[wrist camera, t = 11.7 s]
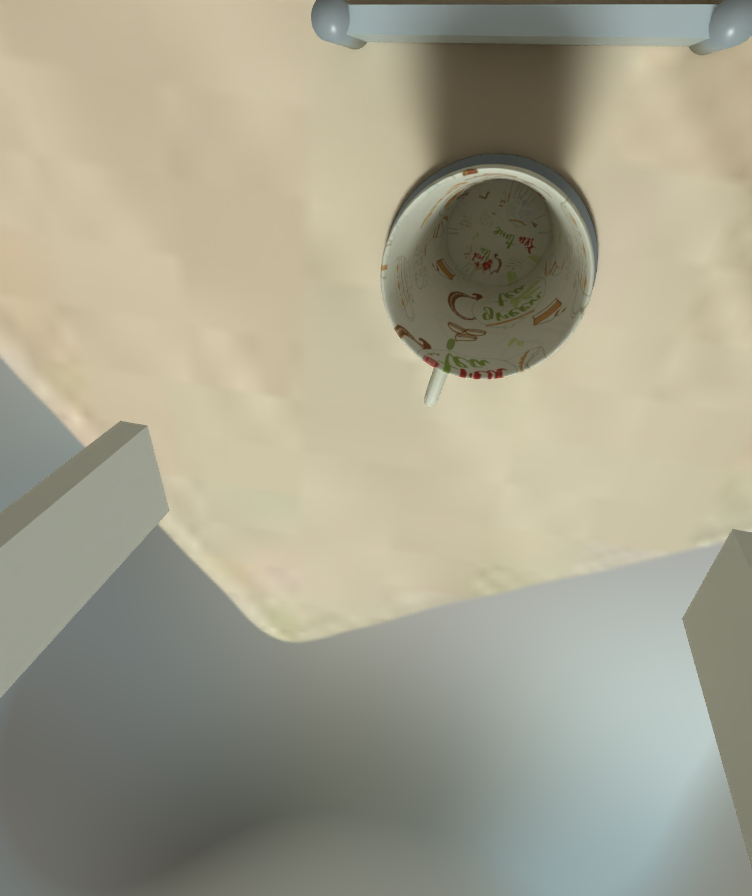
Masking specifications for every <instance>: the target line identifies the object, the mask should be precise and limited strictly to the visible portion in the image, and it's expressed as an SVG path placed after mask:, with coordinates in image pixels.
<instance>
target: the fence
mask: <svg viewBox="0 0 752 896" xmlns="http://www.w3.org/2000/svg"><path fill="white" fill-rule="evenodd" d="M311 21H312V26H313V29H314V31H315V33H316V34H317V35H318V36H319V37H320V38H321V39H322V40H324V41H328V42H331V43H334V44H338V45H341V46H344V47H348V48H351V49H359V48H362V47H363V46H364V45H365V44H366V43H367V42H410V43H484V44H557V45H630V46H689V48H690V49H691V51H692V52H694V53H695V54H698V55H706V54H710V53H713V52H717V51H720V50H723V49H727V48H730V47H733V46H736V45H739V44H741V43H743V42H744V41H746V40H747V39H748V38H749V37H750V36H751V35H752V0H724V1H722V2H720V3H718V4H517V5H352V4H350V3H348V2H347V1H345V0H316V2H315V3H314V5H313V8H312V13H311Z"/></svg>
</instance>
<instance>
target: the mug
mask: <svg viewBox="0 0 752 896" xmlns="http://www.w3.org/2000/svg"><path fill="white" fill-rule="evenodd" d="M594 273H595V260H594V251H593V246H592V241H591V237H590V234H589V231H588V228H587V226H586V224H585V221H584V219H583V218H582V216H581V214H580V212H579V210H578V209H577V207H576V206H575V205H574V203H573V202H572V201H571V200H570V198H569V197H568V196H567V195H566V194H565V193H564V192H563V191H562V190H561V189H560V188H558V187H557V186H556V185H555V184H553V183H552V182H551V181H549V180H547V179H546V178H544V177H543V176H541V175H539V174H537V173H534V172H532V171H530V170H527V169H524V168H520V167H517V166H511V165H504V164H483V165H475V166H471V167H466V168H463V169H460V170H457V171H454V172H451V173H449V174H447V175H445V176H443V177H441V178H439V179H437V180H436V181H434V182H433V183H431V184H430V185H428V186H427V187H426V188H424V189H423V190H422V191H421V192H420V193H418V194H417V195H416V196H415V197H414V198H413V199H412V200H411V201H410V203H409V204H408V205H407V206H406V207H405V208H404V210H403V211H402V213H401V214H400V215H399V217H398V219H397V220H396V222H395V224H394V226H393V228H392V230H391V232H390V234H389V237H388V239H387V242H386V245H385V249H384V253H383V258H382V264H381V290H382V297H383V301H384V305H385V309H386V312H387V314H388V317H389V319H390V321H391V324H392V326H393V327H394V329H395V331H396V332H397V334H398V335H399V337H400V338H401V340H402V341H403V342H404V343H405V344H406V346H407V347H408V348H409V349H410V350H411V351H412V352H413V353H414V354H415V355H417V356H418V357H419V358H420V359H422V360H423V361H425V362H426V363H428V364H429V365H431V366H433V367H434V370H433V373H432V376H431V378H430V381H429V384H428V388H427V391H426V394H425V398H424V403H425V405H426V406H427V407H432V406H434V405H435V404H436V402H437V400H438V398H439V395H440V393H441V390H442V387H443V385H444V382H445V379H446V377H447V374H451V375H455V376H459V377H463V378H470V379H495V378H502V377H507V376H511V375H514V374H518V373H521V372H523V371H525V370H528V369H530V368H532V367H534V366H536V365H538V364H539V363H541V362H542V361H544V360H545V359H547V358H548V357H550V356H551V355H552V354H553V353H554V352H556V351H557V350H558V349H559V348H560V347H561V346H562V345H563V344H564V343H565V342H566V341H567V340H568V338H569V337H570V336H571V335H572V333H573V332H574V331H575V329H576V327H577V326H578V324H579V322H580V321H581V319H582V317H583V315H584V313H585V311H586V308H587V306H588V303H589V300H590V296H591V293H592V288H593V283H594Z"/></svg>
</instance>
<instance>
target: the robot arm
mask: <svg viewBox="0 0 752 896" xmlns="http://www.w3.org/2000/svg"><path fill="white" fill-rule="evenodd" d="M168 511H169V507H168V503H167V499H166V496H165V492H164V488H163V484H162V480H161V476H160V472H159V468H158V465H157V461H156V457H155V453H154V449H153V445H152V441H151V437H150V433H149V430H148V426H146V425H140V424H135V423H129V422H123V421H120V422H118V423H117V424H116V425H115V426H113V427H112V428H111V429H109V430H108V431H107V432H105V433H104V434H103V435H101V436H100V437H99V438H98V439H96V440H95V441H94V442H92V443H91V444H90V445H88V446H87V447H86V448H84V449H83V450H82V451H81V452H80V453H78V454H77V455H75V456H74V457H73V458H71V459H70V460H69V461H67V462H66V463H65V464H64V465H62V466H61V467H60V468H58V469H57V470H56V471H54V472H53V473H52V474H50V475H49V476H48V477H47V478H45V479H44V480H43V481H41V482H40V483H39V484H37V485H36V486H35V487H33V488H32V489H31V490H30V491H28V492H27V493H26V494H24V495H23V496H22V497H20V498H19V499H18V500H17V501H15V502H14V503H12V504H11V505H10V506H9V507H7V508H6V509H5V510H3V511H2V512H1V513H0V698H1V696H2V695H3V694H4V693H5V692H6V691H7V690H8V689H9V688H10V687H11V685H12V684H13V683H14V682H15V681H16V680H17V679H18V678H19V676H20V675H21V674H22V673H23V672H24V671H25V670H26V669H27V668H28V667H29V665H30V664H31V663H32V662H33V661H34V660H35V659H36V658H37V657H38V656H39V654H40V653H41V652H42V651H43V650H44V649H45V648H46V647H47V646H48V644H49V643H50V642H51V641H52V640H53V639H54V638H55V637H56V636H57V634H58V633H59V632H60V631H61V630H62V629H63V628H64V626H66V625H67V623H68V622H69V621H70V620H71V619H72V618H73V617H74V616H75V615H76V613H77V612H78V611H79V610H80V609H81V608H82V607H83V606H84V605H85V603H86V602H87V601H88V600H89V599H90V598H91V597H92V596H93V595H94V593H95V592H96V591H97V590H98V589H99V588H100V587H101V586H102V585H103V584H104V582H105V581H106V580H107V579H108V578H109V577H110V576H111V575H112V573H113V572H114V571H115V570H116V569H117V568H118V567H119V566H120V565H121V563H122V562H123V561H124V560H125V559H126V558H127V557H128V556H129V555H130V554H131V552H132V551H133V550H134V549H135V548H136V547H137V546H138V545H139V544H140V542H141V541H142V540H143V539H144V538H145V537H146V536H147V535H148V533H150V531H151V530H152V529H153V528H154V527H155V526H156V525H157V524H158V523H159V521H160V520H161V519H162V518H163V517H164V516H165V515H166V514H167V513H168ZM682 619H683V623H684V627H685V630H686V634H687V637H688V641H689V645H690V648H691V652H692V655H693V659H694V663H695V666H696V670H697V673H698V677H699V681H700V684H701V687H702V691H703V695H704V699H705V702H706V706H707V709H708V713H709V716H710V720H711V723H712V727H713V731H714V734H715V738H716V742H717V745H718V749H719V752H720V756H721V760H722V763H723V767H724V770H725V774H726V778H727V781H728V785H729V788H730V792H731V796H732V799H733V803H734V806H735V810H736V814H737V817H738V821H739V824H740V828H741V832H742V835H743V838H744V842H745V846H746V849H747V853H748V856H749V860H750V864H751V867H752V532H746V531H740V530H735V529H732V531H731V532H730V534H729V536H728V538H727V540H726V541H725V543H724V545H723V547H722V549H721V550H720V552H719V554H718V556H717V557H716V559H715V561H714V563H713V565H712V566H711V568H710V570H709V572H708V574H707V575H706V577H705V579H704V581H703V582H702V584H701V586H700V588H699V590H698V591H697V593H696V595H695V597H694V599H693V600H692V602H691V604H690V606H689V607H688V609H687V611H686V613H685V615H684V616H683V618H682Z"/></svg>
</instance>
